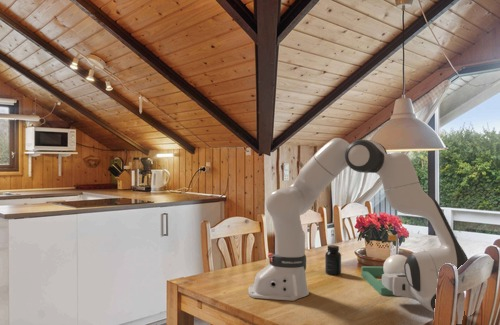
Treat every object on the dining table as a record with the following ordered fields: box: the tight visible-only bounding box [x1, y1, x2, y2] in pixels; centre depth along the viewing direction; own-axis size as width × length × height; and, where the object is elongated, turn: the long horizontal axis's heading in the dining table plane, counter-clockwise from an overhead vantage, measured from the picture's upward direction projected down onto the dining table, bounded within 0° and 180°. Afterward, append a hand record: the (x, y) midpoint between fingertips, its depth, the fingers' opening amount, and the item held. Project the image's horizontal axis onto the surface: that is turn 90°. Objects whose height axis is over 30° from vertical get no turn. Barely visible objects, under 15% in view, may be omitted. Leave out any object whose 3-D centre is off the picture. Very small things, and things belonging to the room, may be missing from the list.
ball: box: [383, 254, 408, 274], centre depth 156 cm, size 11×11×11 cm
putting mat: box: [360, 234, 399, 296], centre depth 163 cm, size 17×26×18 cm, turn 1°
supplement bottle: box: [324, 244, 342, 276], centre depth 178 cm, size 7×7×12 cm
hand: (404, 275), depth 150 cm, fingers closed
